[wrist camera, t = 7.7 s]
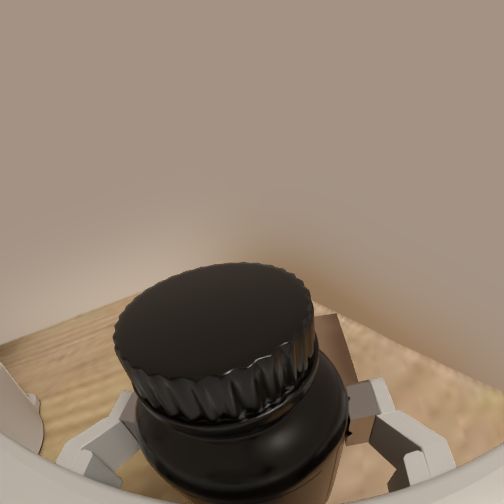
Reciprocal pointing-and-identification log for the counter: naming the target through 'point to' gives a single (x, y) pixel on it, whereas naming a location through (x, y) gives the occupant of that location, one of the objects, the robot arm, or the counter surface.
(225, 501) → the supplement bottle
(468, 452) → the counter surface
